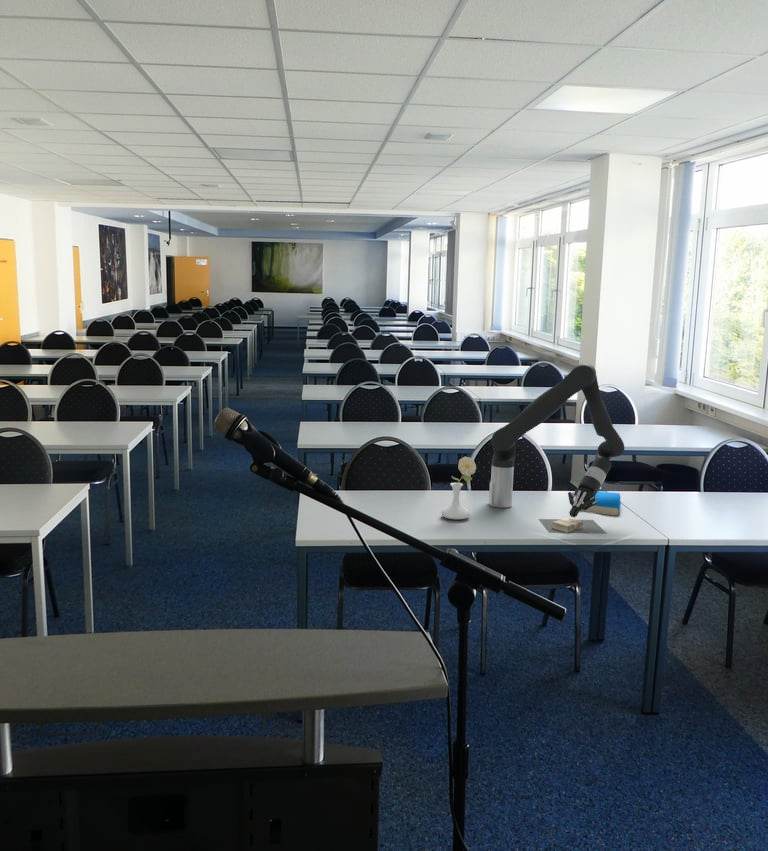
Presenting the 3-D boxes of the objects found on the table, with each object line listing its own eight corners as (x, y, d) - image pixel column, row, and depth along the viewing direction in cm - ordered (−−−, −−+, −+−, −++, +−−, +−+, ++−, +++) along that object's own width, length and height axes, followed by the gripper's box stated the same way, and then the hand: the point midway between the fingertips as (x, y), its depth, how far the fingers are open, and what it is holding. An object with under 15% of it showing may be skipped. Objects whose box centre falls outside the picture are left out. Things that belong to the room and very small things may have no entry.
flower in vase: (443, 521, 307) (445, 459, 303) (439, 513, 318) (441, 453, 314) (476, 522, 308) (479, 459, 304) (471, 514, 319) (473, 453, 315)
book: (577, 503, 327) (580, 488, 350) (577, 513, 328) (580, 498, 351) (620, 507, 322) (620, 492, 345) (619, 517, 323) (620, 501, 346)
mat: (549, 534, 295) (549, 532, 294) (538, 520, 312) (538, 519, 312) (607, 535, 295) (607, 533, 295) (592, 521, 313) (593, 519, 313)
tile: (582, 527, 302) (566, 532, 295) (567, 523, 307) (551, 527, 300) (583, 521, 301) (567, 526, 295) (567, 517, 307) (552, 521, 300)
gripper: (574, 471, 311) (554, 506, 305) (603, 478, 301) (582, 514, 295) (581, 483, 315) (561, 517, 309) (610, 489, 305) (590, 525, 299)
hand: (571, 516), depth 302 cm, fingers closed
